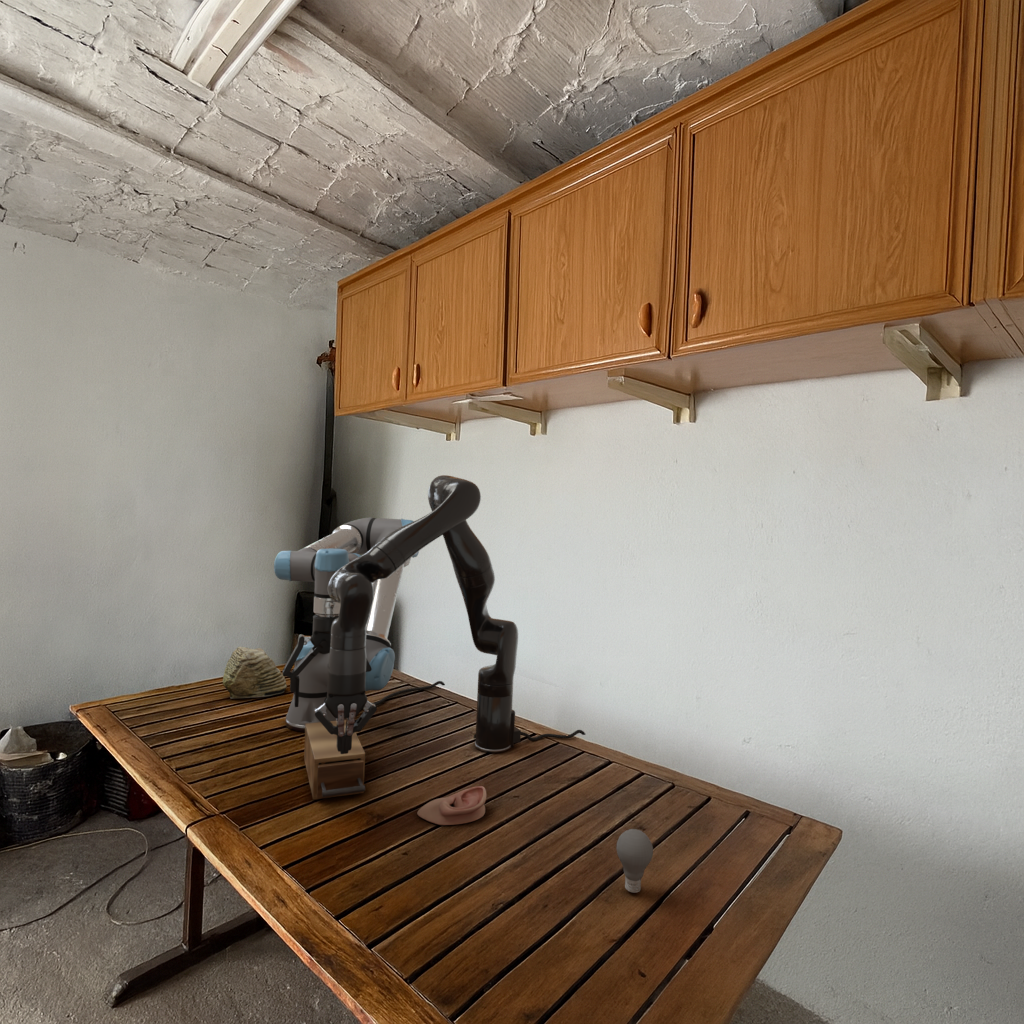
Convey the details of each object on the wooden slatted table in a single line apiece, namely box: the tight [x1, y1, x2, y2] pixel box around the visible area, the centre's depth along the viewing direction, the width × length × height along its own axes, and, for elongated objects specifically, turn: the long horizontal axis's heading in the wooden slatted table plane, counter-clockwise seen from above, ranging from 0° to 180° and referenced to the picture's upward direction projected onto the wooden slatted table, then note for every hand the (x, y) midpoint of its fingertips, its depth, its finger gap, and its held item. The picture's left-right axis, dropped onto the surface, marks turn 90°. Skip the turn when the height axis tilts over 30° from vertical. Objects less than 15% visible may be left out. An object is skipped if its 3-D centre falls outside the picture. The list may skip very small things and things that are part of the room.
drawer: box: [316, 759, 366, 800], centre depth 140 cm, size 26×9×7 cm, turn 23°
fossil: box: [222, 646, 288, 699], centre depth 198 cm, size 9×18×15 cm, turn 132°
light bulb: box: [615, 828, 654, 894], centre depth 106 cm, size 6×6×10 cm
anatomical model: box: [416, 785, 488, 826], centre depth 129 cm, size 13×4×12 cm
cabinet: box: [303, 719, 366, 800], centre depth 144 cm, size 22×10×9 cm, turn 23°
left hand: (326, 703), depth 151 cm, fingers open, 13 cm apart
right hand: (343, 752), depth 130 cm, fingers closed
